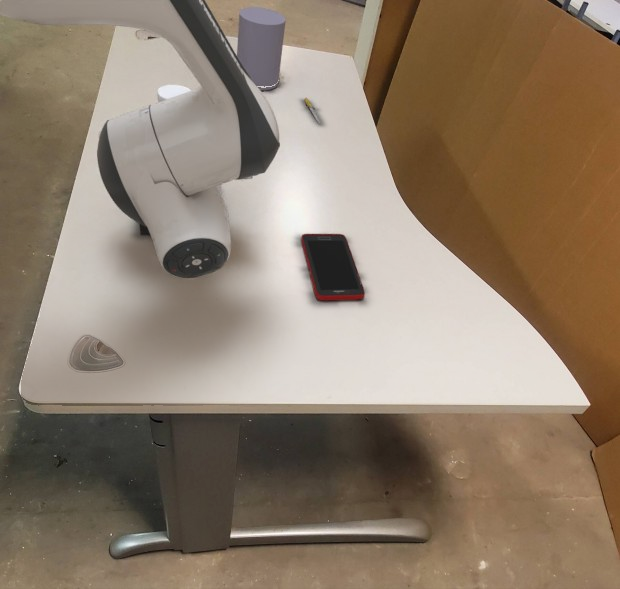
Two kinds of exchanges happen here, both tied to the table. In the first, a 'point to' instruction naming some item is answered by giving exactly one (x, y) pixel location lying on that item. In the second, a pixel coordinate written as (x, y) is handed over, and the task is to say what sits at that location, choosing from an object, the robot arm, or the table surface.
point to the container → (261, 44)
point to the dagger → (311, 109)
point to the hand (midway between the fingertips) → (175, 123)
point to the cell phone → (332, 267)
